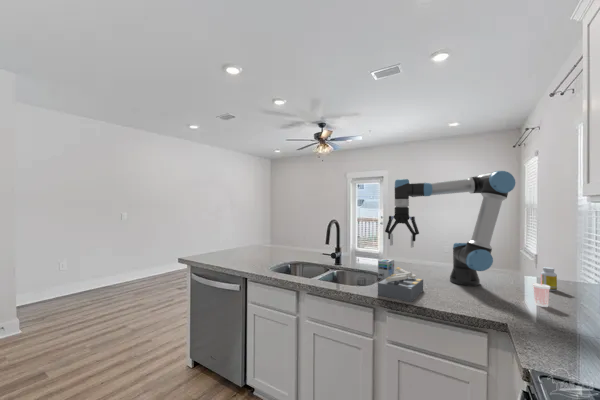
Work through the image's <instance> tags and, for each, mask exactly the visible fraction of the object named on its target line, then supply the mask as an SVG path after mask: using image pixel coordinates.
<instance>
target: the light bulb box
mask: <svg viewBox="0 0 600 400" xmlns="http://www.w3.org/2000/svg"><path fill="white" fill-rule="evenodd" d="M377 261H378V263H377V265H378V266H377V269H378V270H377V274H378V275H377V278H378V279H382V280H384V279H386V278H387V277H389V276H391V275H393V274H395V259H393V258H386V257H385V258H382V259H379V260H377Z"/></svg>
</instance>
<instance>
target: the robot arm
mask: <svg viewBox="0 0 600 400" xmlns="http://www.w3.org/2000/svg"><path fill="white" fill-rule="evenodd" d="M515 187H516V179H515V177H514V176H513V174H512V173H511V172H509V171H506V170H495V171H493V172H487V173H483V174H480V175H475V176H469V177H468V178H467V179H466V178H465V179H455V180H454V179H453V180H447V181H446V180H444V181H434V182H410V180H409V179H408V178H397V179H395V181H394V206H395V207H394V214H393V215H389V216H388V221H387V224H386V227H385V230H384V232H385V233H387V234H388V235H387V236H388V237H387V238H388V240H389V246H394V233H393V231H394V229H395V228H396V227H397V226H398V224H403V225H405V226H406V227H407V229H408V230H409V232H410V233H411V235H410V248H414V244H415V243H414V242H416V239H417V238H416V236H417V235H419V234H420V231H419V228H418V225H417V223H416V216H410V208H409V207H410V197H412V198H416V197H417V198H418V197H430V196H436V195H437V196H440V195H449V194H450V195H451V194H461V193H463V194H464V193H470V194H480V195H481V196H482V200H481V205H480V209H479V212H478V215H477V219H476V222H475V225H474V228H473V229H474V230H473V232H472V235H471V239H470V240H468V241H467V242H454V243H453V246H452V251H453V252H452V254H453V255H452V264H453V265H452V270H451V273H450V276H449V281H450V282H452V283H453V284H455V285H456V284H457V285H460V286H462V285H463V286H469V287H471V286H472V287H475V286H479V285H480V283H481V280H480V278H479V274H478V272H484V271H487V270H489V269H490V268H491V267H492V266H493V263H494V258H493V256H492V251H493V247H492V246H491V241H492V237H493V234H494V230H495V227H496V224H497V220H498V217H499V213H500V209H501V207H502V204H503V203H502V202H503V201H505V200H507V198H508V196H509V193H510V192H511V191H513V190H514V189H515ZM393 220H394V222H393ZM409 220H410V221H411V223H412V225H411V223H410V222H409ZM392 222H393V224H392Z"/></svg>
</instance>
